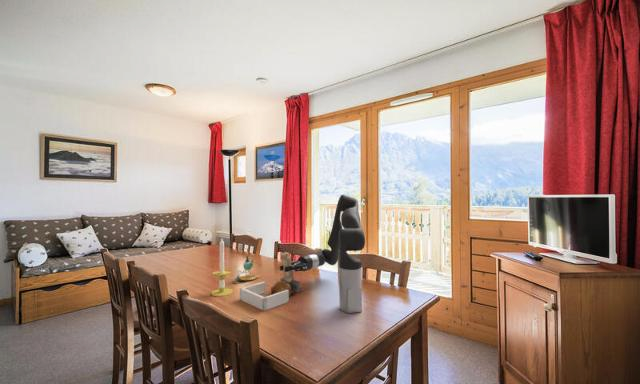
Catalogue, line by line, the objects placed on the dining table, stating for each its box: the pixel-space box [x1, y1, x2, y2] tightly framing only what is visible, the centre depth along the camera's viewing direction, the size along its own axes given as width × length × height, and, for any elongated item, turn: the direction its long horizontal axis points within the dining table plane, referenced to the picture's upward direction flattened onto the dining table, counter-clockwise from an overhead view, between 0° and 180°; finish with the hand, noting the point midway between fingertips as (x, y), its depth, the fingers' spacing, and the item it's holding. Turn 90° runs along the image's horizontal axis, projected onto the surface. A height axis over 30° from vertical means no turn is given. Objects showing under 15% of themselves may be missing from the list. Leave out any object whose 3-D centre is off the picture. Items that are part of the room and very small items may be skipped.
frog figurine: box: [233, 254, 261, 285], centre depth 157 cm, size 10×18×15 cm, turn 133°
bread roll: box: [270, 280, 293, 297], centre depth 132 cm, size 10×10×8 cm
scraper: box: [279, 251, 302, 293], centre depth 136 cm, size 3×12×18 cm, turn 47°
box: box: [239, 281, 290, 312], centre depth 125 cm, size 13×18×5 cm
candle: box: [210, 237, 233, 297], centre depth 135 cm, size 10×10×27 cm
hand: (282, 269), depth 133 cm, fingers closed on scraper, 3 cm apart
